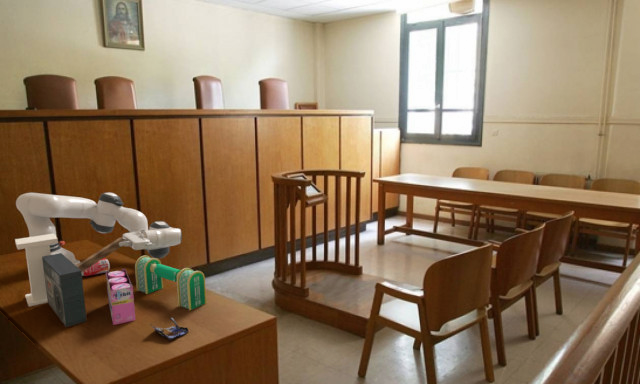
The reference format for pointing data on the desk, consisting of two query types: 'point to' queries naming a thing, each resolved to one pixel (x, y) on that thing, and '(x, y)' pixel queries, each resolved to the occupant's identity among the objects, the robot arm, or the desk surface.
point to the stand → (36, 265)
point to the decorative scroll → (187, 280)
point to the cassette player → (64, 289)
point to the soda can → (97, 268)
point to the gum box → (120, 296)
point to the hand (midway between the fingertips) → (117, 243)
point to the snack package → (173, 330)
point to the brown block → (99, 255)
